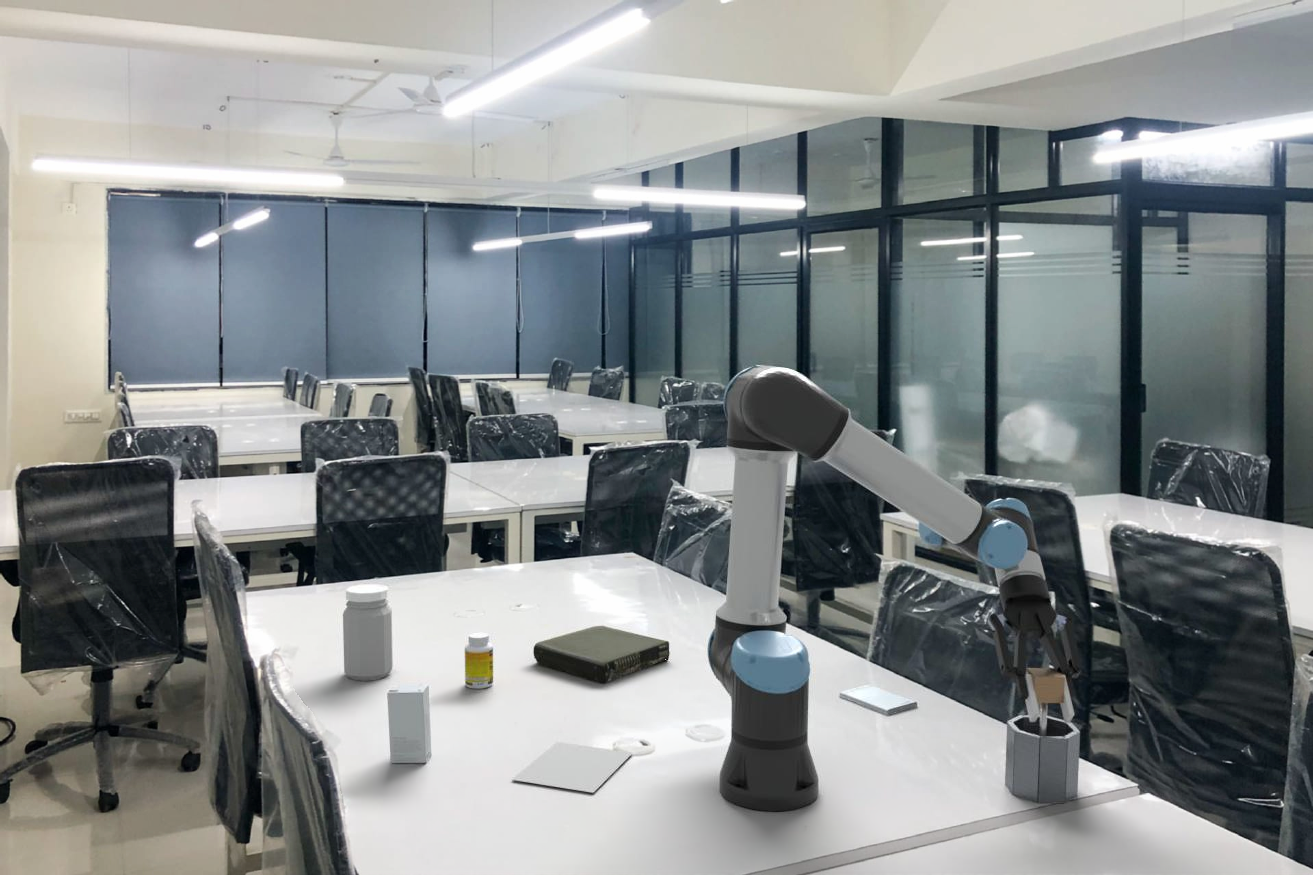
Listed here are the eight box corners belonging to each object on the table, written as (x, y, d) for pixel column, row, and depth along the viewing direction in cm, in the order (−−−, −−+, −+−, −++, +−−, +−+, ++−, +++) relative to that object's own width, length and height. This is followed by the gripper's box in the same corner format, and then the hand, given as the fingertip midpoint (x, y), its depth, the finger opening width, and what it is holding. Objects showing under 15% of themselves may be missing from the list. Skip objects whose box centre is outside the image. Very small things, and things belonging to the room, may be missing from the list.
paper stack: (458, 775, 172) (458, 771, 172) (528, 722, 195) (528, 718, 195) (593, 796, 164) (593, 792, 164) (650, 738, 187) (650, 735, 187)
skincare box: (432, 754, 179) (430, 683, 178) (426, 764, 175) (424, 692, 174) (395, 753, 180) (393, 683, 178) (388, 764, 175) (386, 691, 174)
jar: (333, 675, 220) (331, 589, 219) (371, 664, 228) (369, 580, 227) (365, 684, 215) (363, 596, 213) (403, 672, 223) (401, 586, 221)
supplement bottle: (494, 688, 213) (493, 638, 212) (465, 690, 212) (465, 639, 211) (492, 679, 218) (491, 630, 217) (464, 681, 217) (463, 632, 216)
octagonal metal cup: (1018, 802, 162) (1020, 737, 161) (999, 775, 171) (1001, 714, 170) (1084, 803, 161) (1087, 738, 160) (1061, 776, 171) (1064, 715, 170)
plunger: (1026, 784, 163) (1030, 679, 161) (1013, 767, 169) (1016, 665, 168) (1070, 785, 163) (1074, 679, 161) (1055, 768, 169) (1059, 666, 168)
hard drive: (917, 701, 203) (869, 683, 214) (887, 709, 199) (839, 691, 209) (917, 709, 204) (869, 691, 214) (886, 718, 199) (839, 699, 209)
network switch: (614, 689, 214) (614, 664, 214) (523, 669, 227) (522, 645, 226) (676, 660, 234) (676, 637, 233) (589, 643, 246) (589, 621, 246)
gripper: (1069, 596, 179) (1103, 729, 164) (963, 595, 179) (987, 728, 164) (1082, 572, 173) (1119, 707, 158) (972, 571, 174) (998, 706, 159)
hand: (1052, 717), depth 161 cm, fingers closed on plunger, 4 cm apart
